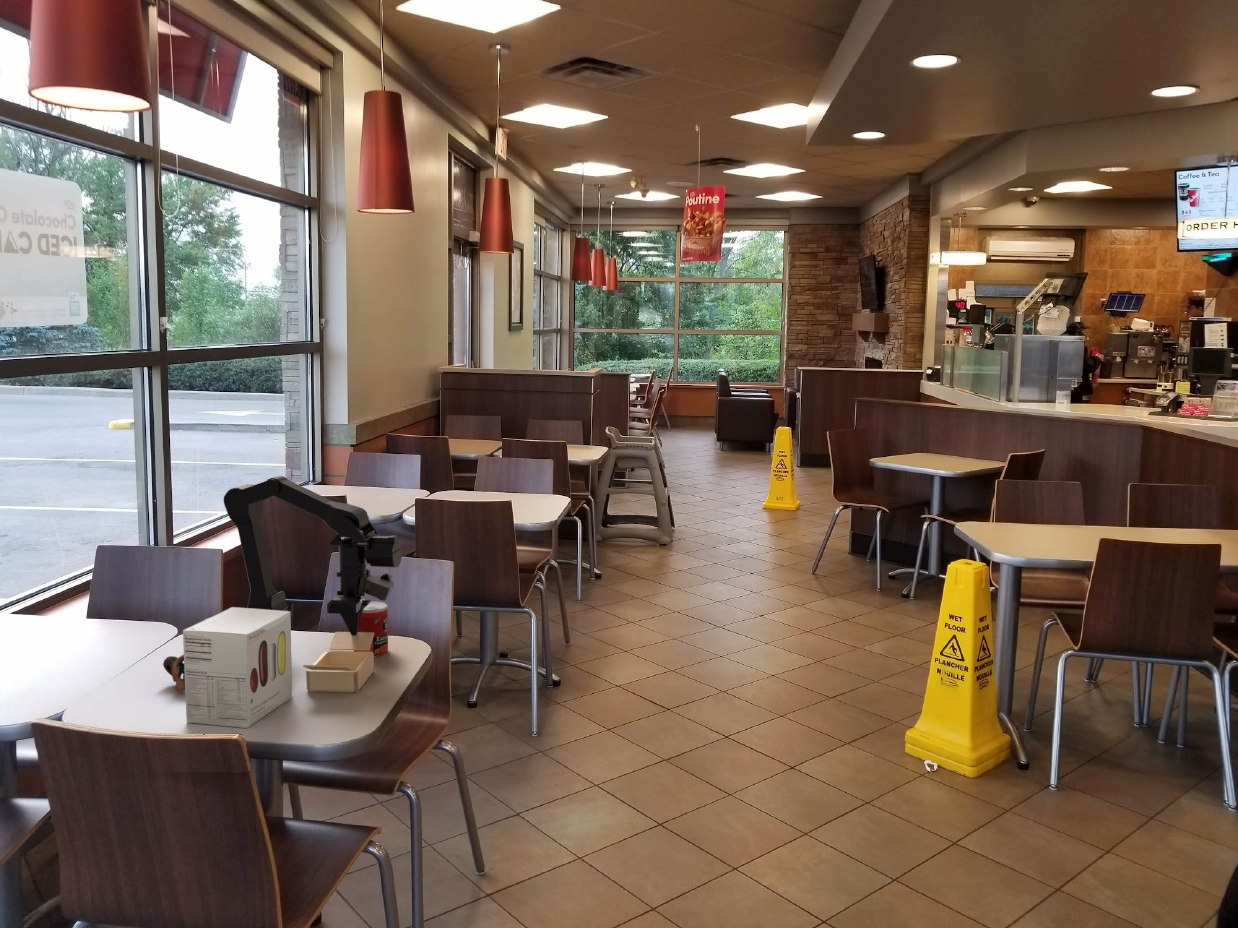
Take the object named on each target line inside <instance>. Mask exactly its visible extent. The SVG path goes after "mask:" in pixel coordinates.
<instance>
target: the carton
mask: <svg viewBox="0 0 1238 928" xmlns="http://www.w3.org/2000/svg"><path fill="white" fill-rule="evenodd" d="M374 657H375V656H374V653H373V652H356V651H354V650H326V651H324V652H323V653H322V654H320V656H319V657H318V658H317V659H316V660H315V661H314V662H313V663H312V664H311V665H330V666H348V667H350V668H351V669H353V671H343V670H310V669H307V668H306V671H305V673H306V674H305V675H306V679H305V680H306V690H307V693H319V694H320V693H324V694H325V693H326V694H327V693H329V694H330V693H331V694H332V693H333V694H357V693H358V692H359V691H360V690H361V688H362V687H363V686H364V685H365V683H366V682H367V680H368V679H369V678H370V677H371V675H372V674H373V672H374V671H375V662H374V661H375V659H374ZM358 690H359V691H358Z"/></svg>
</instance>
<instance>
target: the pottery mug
mask: <svg viewBox="0 0 1238 928" xmlns="http://www.w3.org/2000/svg"><path fill="white" fill-rule="evenodd" d="M162 666H163V669H165V671H166V672H167V673H168V674H169V675H170V676H171V677H172V681H173V682H174V683H175V685H174V691H175V692H176V693H177V694H179V695H182V694H183V693H184V692H185V670H184V654H182V655H180V656H179V657H177V656H173V655H171V656H167V657H166V658H165V659H164V660H163V663H162Z"/></svg>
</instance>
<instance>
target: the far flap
mask: <svg viewBox="0 0 1238 928" xmlns="http://www.w3.org/2000/svg"><path fill="white" fill-rule="evenodd" d="M373 636H374V632H358V633H357V635H351V633H350V631H335V632H334V635H333V638H332V640H331V643H330V647H329V651H354V650H367V651H369V650H370V647H371V643H372V640H373Z"/></svg>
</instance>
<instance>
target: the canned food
mask: <svg viewBox="0 0 1238 928" xmlns="http://www.w3.org/2000/svg"><path fill="white" fill-rule="evenodd" d="M388 610H389V609H388V604H387V603H385V602H381V601H371V602H370V603H369V604H368V605H367V606H366V607H365V608H364V609H363V612H362V616H361V620H360V624H359V628H358V632H374V636H373V640H372V643H371V647H370V650H369V651H367V650H353V651H356V652H373V653H374V657H380V656H383V655H385V654H386V653H388V649H389V624H388V623H389V616H388V615H389V614H388V613H389V612H388Z"/></svg>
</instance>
